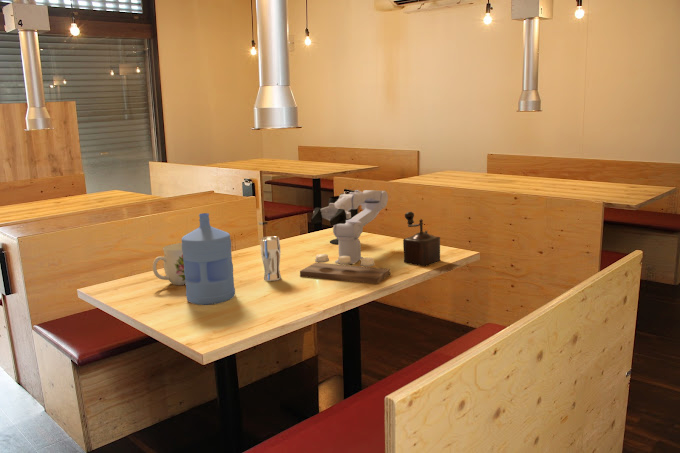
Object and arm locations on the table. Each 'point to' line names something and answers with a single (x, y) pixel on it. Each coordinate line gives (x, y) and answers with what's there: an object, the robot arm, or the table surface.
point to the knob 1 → (321, 258)
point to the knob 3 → (367, 262)
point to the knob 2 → (344, 260)
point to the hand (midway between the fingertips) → (321, 222)
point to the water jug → (208, 264)
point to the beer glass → (271, 257)
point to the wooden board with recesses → (345, 273)
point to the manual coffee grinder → (420, 245)
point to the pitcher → (172, 264)
